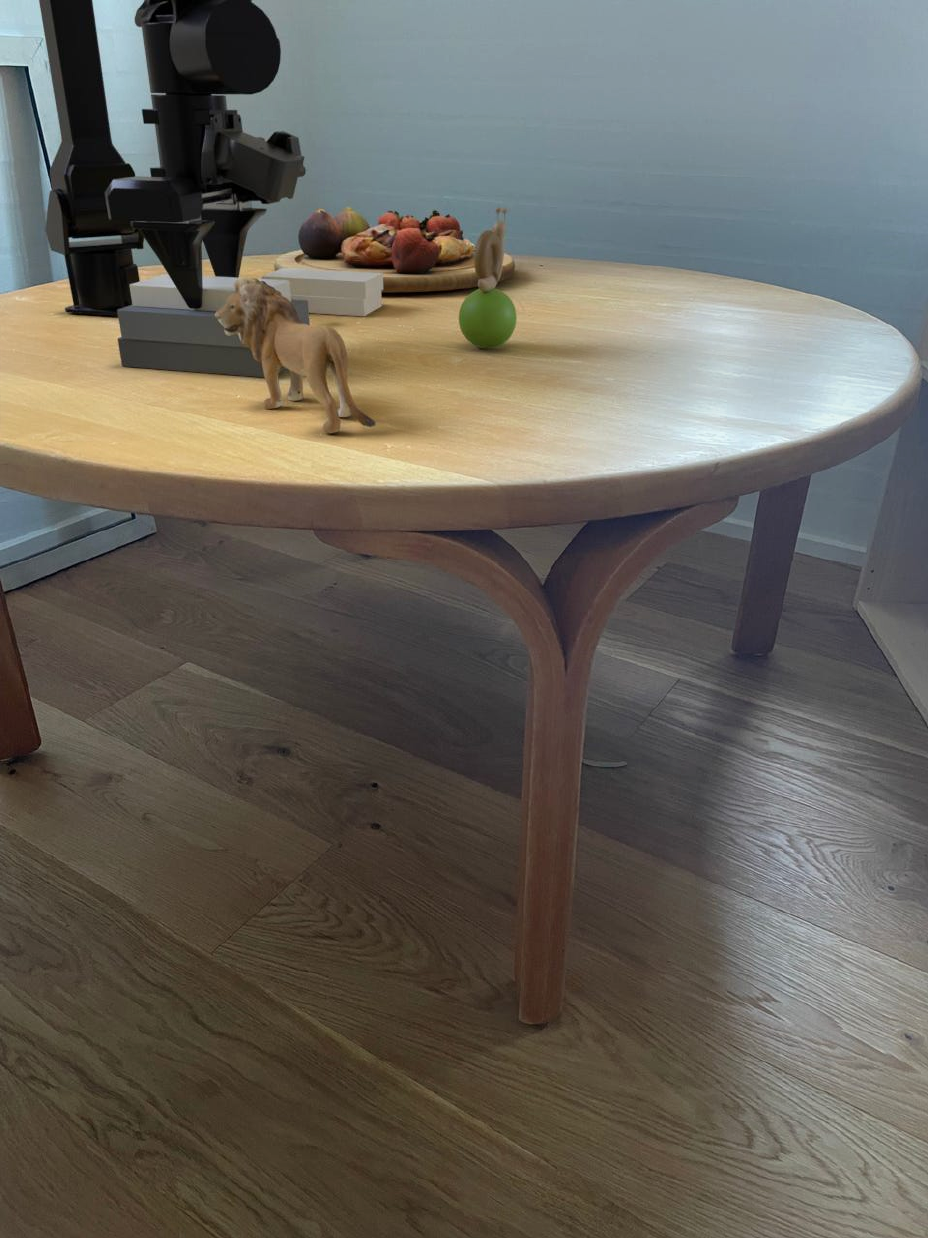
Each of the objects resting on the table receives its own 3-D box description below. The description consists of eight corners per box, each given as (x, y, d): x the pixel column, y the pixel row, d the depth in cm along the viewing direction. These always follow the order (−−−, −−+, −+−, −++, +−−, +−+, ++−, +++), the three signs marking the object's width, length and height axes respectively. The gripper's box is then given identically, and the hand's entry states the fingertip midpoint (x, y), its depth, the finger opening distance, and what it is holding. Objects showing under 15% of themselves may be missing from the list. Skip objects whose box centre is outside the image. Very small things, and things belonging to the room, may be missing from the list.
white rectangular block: (132, 306, 79) (129, 284, 78) (168, 294, 84) (165, 273, 83) (262, 314, 76) (260, 291, 75) (291, 301, 81) (289, 280, 81)
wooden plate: (519, 299, 110) (522, 224, 106) (251, 295, 110) (244, 220, 106) (510, 259, 138) (512, 199, 133) (297, 256, 138) (293, 195, 134)
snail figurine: (525, 341, 90) (530, 207, 84) (506, 356, 85) (510, 214, 79) (472, 337, 92) (474, 205, 86) (450, 351, 86) (450, 211, 80)
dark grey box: (121, 366, 80) (111, 309, 78) (174, 343, 88) (166, 291, 85) (271, 378, 77) (266, 319, 75) (313, 353, 85) (309, 299, 82)
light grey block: (262, 310, 102) (258, 275, 101) (284, 300, 108) (281, 267, 106) (366, 316, 100) (364, 281, 98) (383, 306, 105) (382, 272, 103)
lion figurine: (216, 401, 71) (201, 278, 67) (270, 387, 75) (259, 270, 70) (348, 442, 63) (341, 305, 58) (402, 424, 66) (399, 294, 62)
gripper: (228, 94, 63) (251, 329, 70) (328, 97, 79) (338, 288, 86) (83, 92, 65) (121, 320, 73) (209, 95, 81) (229, 282, 89)
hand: (212, 301), depth 80 cm, fingers closed on white rectangular block, 6 cm apart
